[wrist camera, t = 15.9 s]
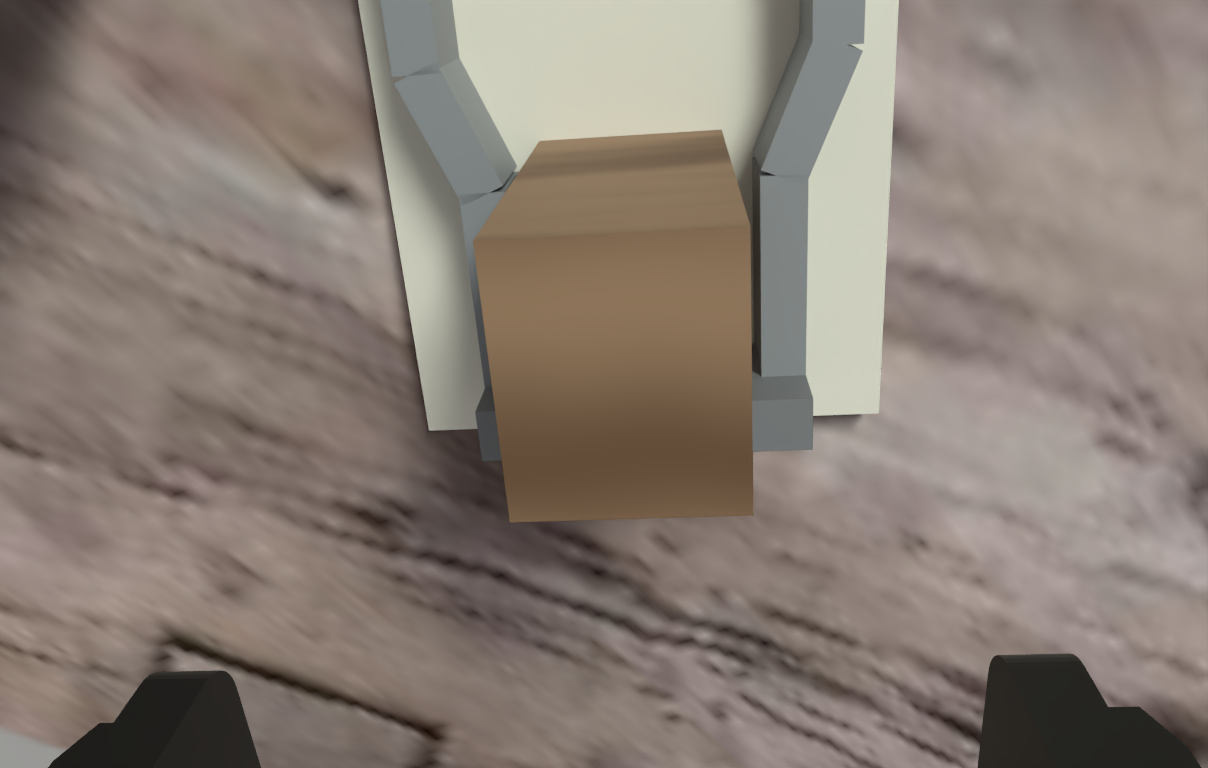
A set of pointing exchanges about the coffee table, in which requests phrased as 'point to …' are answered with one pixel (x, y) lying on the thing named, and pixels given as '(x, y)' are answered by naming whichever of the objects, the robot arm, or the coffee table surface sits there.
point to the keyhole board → (635, 107)
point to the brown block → (621, 330)
